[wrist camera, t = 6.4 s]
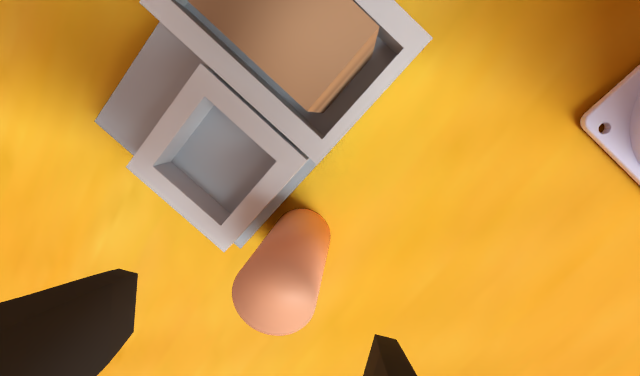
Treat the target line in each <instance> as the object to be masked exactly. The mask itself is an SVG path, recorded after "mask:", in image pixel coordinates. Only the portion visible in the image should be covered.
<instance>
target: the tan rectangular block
mask: <svg viewBox="0 0 640 376" xmlns="http://www.w3.org/2000/svg"><path fill="white" fill-rule="evenodd" d="M187 1H188V2H189V3H191V4H192V5H193V6H194V7H195V8H196V9H197V10H198V11H199V12H200V13H201V14H202V15H204V16H205V17H206V18H207V19H208V20H209V21H210V22H211V23H212V24H213V25H214V26H215V27H216V28H218V29H219V30H220V31H221V32H222V33H223V34H224V35H225V36H226V37H227V38H228V39H229V40H231V41H232V42H233V43H234V44H235V45H236V46H237V47H238V48H239V49H240V50H241V51H242V52H244V53H245V54H246V55H247V56H248V57H249V58H250V59H251V60H252V61H253V62H254V63H255V64H256V65H258V66H259V67H260V68H261V69H262V70H263V71H264V72H265V73H266V74H267V75H268V76H269V77H271V78H272V79H273V80H274V81H275V82H276V83H277V84H278V85H279V86H280V87H281V88H282V89H284V90H285V91H286V92H287V93H288V94H289V95H290V96H291V97H292V98H293V99H294V100H295V101H296V102H298V103H299V104H300V105H301V106H302V107H303V108H304V109H305V110H306V111H309V112H318V113H324V112H325V111H326V109H327V108H328V107H329V106H330V105H331V104H332V103H333V101H334V100H335V99H336V98H337V97H338V96H339V95H340V93H341V92H342V91H343V90H344V89H345V88H346V86H347V85H348V84H349V83H350V82H351V81H352V80H353V78H354V77H355V76H356V75H357V74H358V73H359V72H360V70H361V69H362V68H363V67H364V66H365V65H366V64H367V62H368V61H369V60H370V59H371V58H372V55H373V51H374V47H375V43H376V39H377V35H378V31H379V26H378V25H377V24H376V23H375V22H374V21H373V20H372V19H371V18H370V17H369V16H368V15H367V14H366V13H365V12H364V11H363V10H362V9H361V8H360V7H359V6H358V5H357V4H356V3H355V2H354V1H353V0H187Z"/></svg>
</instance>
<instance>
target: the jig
mask: <svg viewBox="0 0 640 376" xmlns="http://www.w3.org/2000/svg"><path fill="white" fill-rule="evenodd" d="M353 1H354V2H355V3H356V4H357V5H358V6H359V7H360V8H361V9H362V10H363V11H364V12H365V13H366V14H367V15H368V16H369V17H370V18H371V19H372V20H373V21H374V22H375V23H376V24H377V25H378V26H379V31H378V35H377V39H376V43H375V47H374V51H373V55H372V58H371V59H370V60H369V61H368V62H367V64H366V65H365V66H364V67H363V68H362V69H361V70H360V72H359V73H358V74H357V75H356V76H355V77H354V78H353V80H352V81H351V82H350V83H349V84H348V85H347V86H346V88H345V89H344V90H343V91H342V92H341V93H340V95H339V96H338V97H337V98H336V99H335V100H334V101H333V103H332V104H331V105H330V106H329V107H328V108H327V109H326V111H325V112H324V113H318V112H309V111H306V110H305V109H304V108H303V107H302V106H301V105H300V104H299V103H298V102H296V101H295V100H294V99H293V98H292V97H291V96H290V95H289V94H288V93H287V92H286V91H285V90H284V89H282V88H281V87H280V86H279V85H278V84H277V83H276V82H275V81H274V80H273V79H272V78H271V77H269V76H268V75H267V74H266V73H265V72H264V71H263V70H262V69H261V68H260V67H259V66H258V65H256V64H255V63H254V62H253V61H252V60H251V59H250V58H249V57H248V56H247V55H246V54H245V53H244V52H242V51H241V50H240V49H239V48H238V47H237V46H236V45H235V44H234V43H233V42H232V41H231V40H229V39H228V38H227V37H226V36H225V35H224V34H223V33H222V32H221V31H220V30H219V29H218V28H216V27H215V26H214V25H213V24H212V23H211V22H210V21H209V20H208V19H207V18H206V17H205V16H204V15H202V14H201V13H200V12H199V11H198V10H197V9H196V8H195V7H194V6H193V5H192V4H191V3H189V2H188V1H187V0H140V2H139V3H140V4H141V5H142V6H144V7H145V8H146V9H147V10H148V11H149V12H150V13H151V14H152V15H153V16H154V17H156V18H157V19H158V20H159V21H160V22H159V23H158V25H157V26H156V28H155V29H154V31H153V32H152V34H151V35H150V37H149V39H148V40H147V42H146V43H145V45H144V46H143V48H142V49H141V51H140V52H139V54H138V55H137V57H136V58H135V60H134V61H133V63H132V65H131V66H130V68H129V69H128V71H127V72H126V74H125V75H124V77H123V78H122V80H121V81H120V83H119V84H118V86H117V87H116V89H115V91H114V92H113V94H112V95H111V97H110V98H109V100H108V101H107V103H106V104H105V106H104V107H103V109H102V110H101V112H100V113H99V115H98V117H97V118H96V120H95V122H96V123H97V124H98V125H99V126H100V127H101V128H103V129H104V130H105V131H106V132H107V133H108V134H109V135H111V136H112V137H113V138H114V139H115V140H116V141H117V142H119V143H120V144H121V145H122V146H123V147H124V148H125V149H127V150H128V151H129V152H130V153H131V154H132V155H134V157H133V158H132V159H131V161H130V162H129V164H128V165H127V166H126V168H127V169H129V170H130V171H131V172H132V173H133V174H134V175H136V176H137V177H138V178H139V179H140V180H141V181H142V182H144V183H145V184H146V185H147V186H148V187H149V188H151V189H152V190H153V191H154V192H155V193H156V194H157V195H159V196H160V197H161V198H162V199H163V200H164V201H166V202H167V203H168V204H169V205H170V206H171V207H172V208H174V209H175V210H176V211H177V212H178V213H179V214H180V215H182V216H183V217H184V218H185V219H186V220H187V221H189V222H190V223H191V224H192V225H193V226H194V227H195V228H197V229H198V230H199V231H200V232H201V233H202V234H204V235H205V236H206V237H207V238H208V239H209V240H210V241H212V242H213V243H214V244H215V245H216V246H217V247H219V248H220V249H221V250H222V251H223V252H225V251H226V250H227V249H228V248H229V247H230V246H231V245H232V244H233V243H234V244H236V245H237V246H238V247H239V248H240V249H241V248H242V247H243V245H244V244H245V243H246V242H247V241H248V240H249V239H250V238H251V237H252V236H253V234H254V233H255V232H256V231H257V230H258V229H259V228H260V227H261V226H262V225H263V223H264V222H265V221H266V220H267V219H268V218H269V217H270V216H271V215H272V214H273V212H274V211H275V210H276V209H277V208H278V207H279V206H280V205H281V204H282V203H283V202H284V200H285V199H286V198H287V197H288V196H289V195H290V194H291V193H292V192H293V191H294V189H295V188H296V187H297V186H298V185H299V184H300V183H301V182H302V181H303V180H304V178H305V177H306V176H307V175H308V174H309V173H310V172H311V171H312V170H313V169H314V167H315V166H316V165H318V164H319V162H320V161H321V160H322V159H323V158H324V157H325V156H326V155H327V154H328V153H329V151H330V150H331V149H332V148H333V147H334V146H335V145H336V144H337V143H338V142H339V140H340V139H341V138H342V137H343V136H344V135H345V134H346V133H347V132H348V131H349V130H350V128H351V127H352V126H353V125H354V124H355V123H356V122H357V121H358V120H359V119H360V117H361V116H362V115H363V114H364V113H365V112H366V111H367V110H368V109H369V108H370V106H371V105H372V104H373V103H374V102H375V101H376V100H377V99H378V98H379V97H380V95H381V94H382V93H383V92H384V91H385V90H386V89H387V88H388V87H389V86H390V84H391V83H392V82H393V81H394V80H395V79H396V78H397V77H398V76H399V75H400V74H401V72H402V71H403V70H404V69H405V68H406V67H407V66H408V65H409V64H410V63H411V61H412V60H413V59H414V58H415V57H416V56H417V55H418V54H419V53H420V52H421V50H422V49H423V48H424V47H425V46H426V45H427V44H428V43H429V42H430V41H431V39H432V37H431V36H430V35H429V34H428V33H427V32H426V31H425V30H424V29H423V28H422V27H421V26H420V25H419V24H418V23H417V22H416V21H415V20H414V19H413V18H412V17H411V16H410V15H409V14H408V13H407V12H406V11H405V10H404V9H403V8H402V7H401V6H399V5H398V4H397V3H396V2H395V1H394V0H353Z"/></svg>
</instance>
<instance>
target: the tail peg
mask: <svg viewBox="0 0 640 376" xmlns="http://www.w3.org/2000/svg"><path fill="white" fill-rule="evenodd" d="M329 244H330V230H329V227H328V225H327V223H326V221H325V220H324V219H323V218H322V217H321V216H320V215H319V214H317V213H316V212H314V211H312V210H308V209H294V210H291V211H289V212H287V213H285V214H284V215H283V216H282V217H281V218H280V219H279V220H278V222H277V223H276V224H275V226H274V227H273V228H272V230H271V231H270V232H269V234H268V235H267V236H266V238H265V239H264V240H263V241H262V243H261V244H260V245H259V247H258V248H257V249H256V251H255V252H254V253H253V255H252V256H251V257H250V258H249V260H248V261H247V262H246V264H245V265H244V266H243V268H242V269H241V270H240V272H239V273H238V274H237V276H236V278H235V280H234V283H233V287H232V298H233V303H234V306H235V308H236V310H237V312H238V314H239V315H240V317H241V318H242V319H243V320H244V321H245V322H246V323H247V324H248V325H249V326H251V327H252V328H254V329H255V330H257V331H259V332H262V333H265V334H269V335H276V336H280V335H288V334H292V333H294V332H297V331H298V330H300V329H302V328H303V327H304V326H305V325H306V324H307V323H308V322H309V321H310V319H311V318H312V316H313V314H314V311H315V307H316V303H317V298H318V294H319V289H320V285H321V280H322V276H323V271H324V267H325V262H326V257H327V253H328V248H329Z"/></svg>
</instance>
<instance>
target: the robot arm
mask: <svg viewBox="0 0 640 376" xmlns="http://www.w3.org/2000/svg"><path fill="white" fill-rule="evenodd" d="M602 123H603V124H604V126H605V128H604V130H603V132H601V133H600V132H599V130H598V129H599V126H600V125H601V124H602ZM580 124H581V127H582V128H583V130H584V131H585V132H586V133H587V134H588V135H589V136H590V137H591V138H592V139H593V140H594V141H595V142H596V143H597V144H598V145H599V146H601V147H602V148H603V149H604V150H605V151H606V152H607V153H608V154H609V155H610V156H611V157H612V158H613V159H614V160H615V161H616V162H617V163H618V164H619V165H620V166H621V167H622V168H623V169H624V170H625V171H626V172H627V173H628V174H629V175H630V176H631V177H632V178H633V179H634V180H635V181H636V182H637V183H638V184H639V185H640V65H638V66H637V67H636V68H635V69H634V70H633V71H632V72H631V73H629V74H628V75H627V76H626V77H625V78H624V79H623V80H622V81H620V82H619V83H618V84H617V85H616V86H615V87H614V88H613V89H611V90H610V91H609V92H608V93H607V94H606V95H605V96H604V97H602V98H601V99H600V100H599V101H598V102H597V103H596V104H595V105H593V106H592V107H591V108H590V109H589V110H588V111H587V112H586V113H584V115H583V116H582V117H581V120H580ZM137 278H138V274H137V273H133V272H129V271H126V270H122V269H116V270H111V271H107V272H103V273H100V274H96V275H93V276H89V277H86V278H83V279H79V280H76V281H73V282H69V283H66V284H63V285H59V286H56V287H53V288H50V289H46V290H43V291H40V292H36V293H33V294H30V295H26V296H23V297H19V298H15V299H12V300H8V301H5V302H1V303H0V376H97V375H98V374H99V373H100V372H101V371H102V370H103V369H104V368H105V367H106V365H107V364H108V363H109V362H110V361H111V360H112V358H113V357H114V356H115V355H116V354H117V352H118V351H119V350H120V349H121V347H122V346H123V345H124V343H125V342H126V341H127V340H128V338H129V337H130V336H131V334H132V333H133V331H134V317H135V304H136V291H137ZM363 376H417V375H416V373H415V371H414V369H413V368H412V366H411V364H410V362H409V361H408V359H407V357H406V355H405V354H404V352H403V350H402V348H401V347H400V345H399V343H398V342H397V340H396V339H392V338H388V337H384V336H380V335H376V334H375V336H374V340H373V343H372V347H371V350H370V354H369V357H368V361H367V364H366V368H365V371H364V375H363Z"/></svg>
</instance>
